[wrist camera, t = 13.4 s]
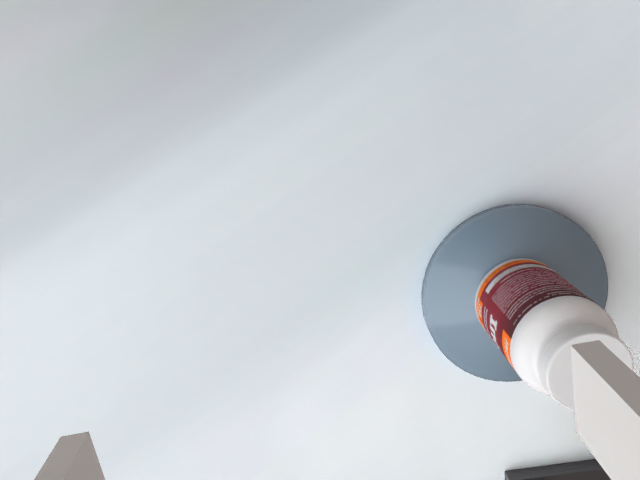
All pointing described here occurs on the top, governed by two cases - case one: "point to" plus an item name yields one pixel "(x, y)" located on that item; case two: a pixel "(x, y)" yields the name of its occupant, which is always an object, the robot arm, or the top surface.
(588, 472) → the balance
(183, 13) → the top surface
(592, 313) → the pill bottle
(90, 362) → the top surface
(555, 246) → the dish
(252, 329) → the top surface
